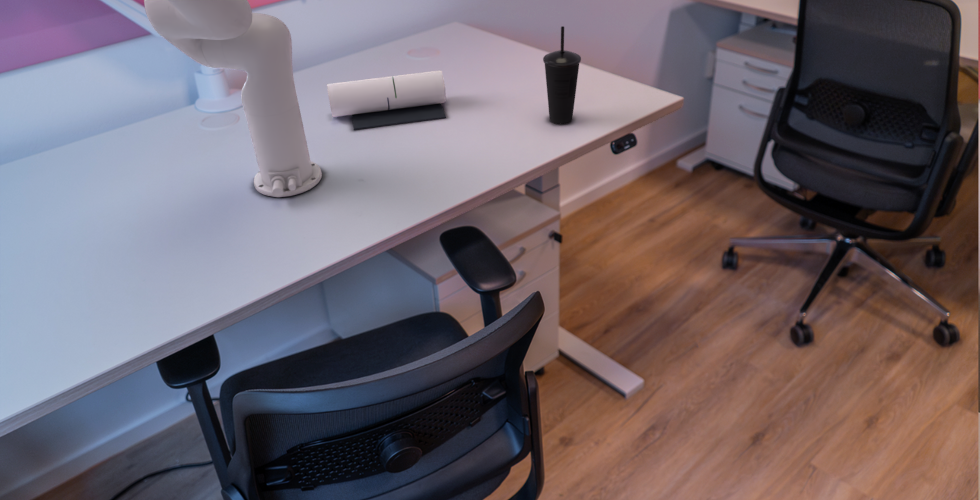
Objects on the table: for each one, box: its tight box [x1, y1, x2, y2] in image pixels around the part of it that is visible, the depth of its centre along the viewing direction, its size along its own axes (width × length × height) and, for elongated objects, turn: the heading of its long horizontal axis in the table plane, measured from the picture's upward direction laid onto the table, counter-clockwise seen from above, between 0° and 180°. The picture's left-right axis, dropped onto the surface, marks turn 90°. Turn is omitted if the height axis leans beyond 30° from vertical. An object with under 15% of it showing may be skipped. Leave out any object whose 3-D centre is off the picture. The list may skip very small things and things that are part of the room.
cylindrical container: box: [326, 69, 447, 118], centre depth 160 cm, size 7×7×25 cm
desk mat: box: [351, 103, 447, 131], centre depth 164 cm, size 18×20×1 cm
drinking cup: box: [542, 25, 582, 126], centre depth 149 cm, size 8×8×20 cm
